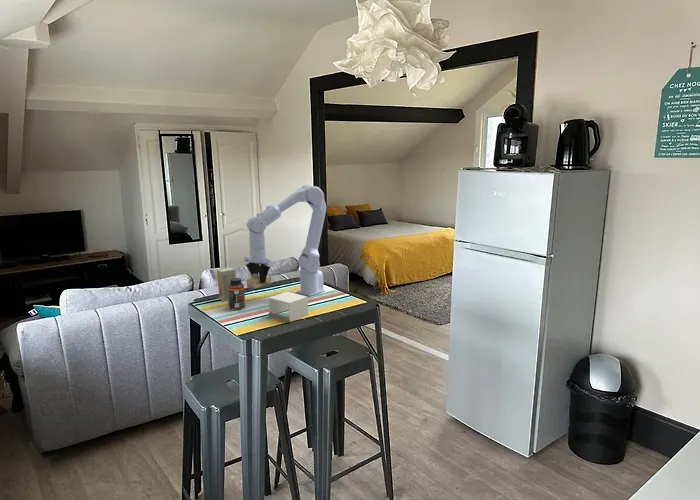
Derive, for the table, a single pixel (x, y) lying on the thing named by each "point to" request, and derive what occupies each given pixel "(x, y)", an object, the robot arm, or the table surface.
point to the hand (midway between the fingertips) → (259, 281)
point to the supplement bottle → (236, 294)
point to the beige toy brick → (257, 281)
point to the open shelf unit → (288, 306)
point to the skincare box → (225, 282)
